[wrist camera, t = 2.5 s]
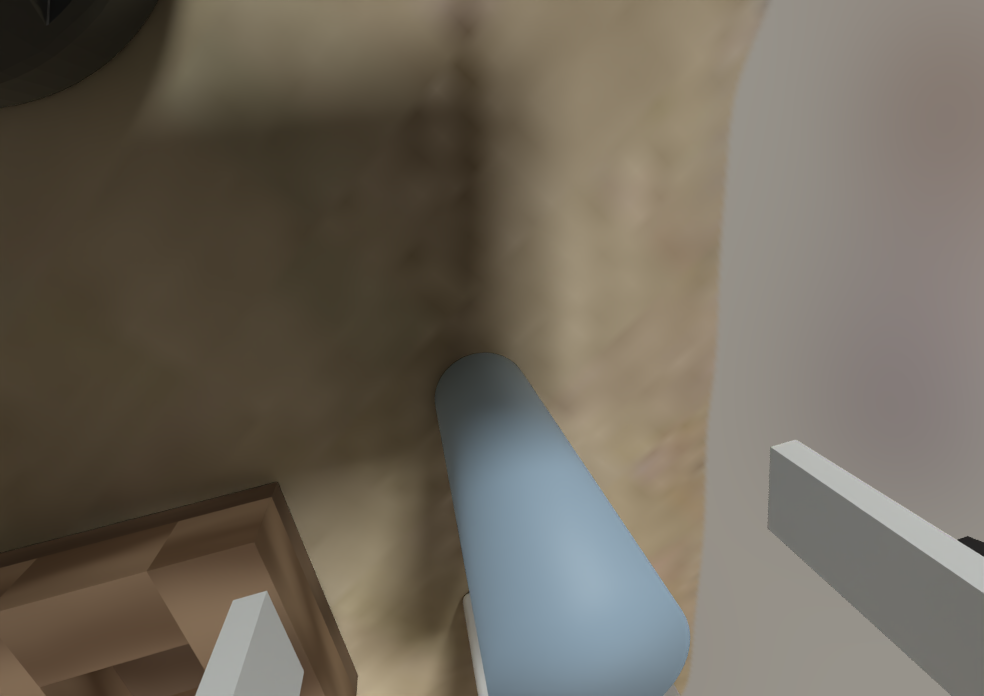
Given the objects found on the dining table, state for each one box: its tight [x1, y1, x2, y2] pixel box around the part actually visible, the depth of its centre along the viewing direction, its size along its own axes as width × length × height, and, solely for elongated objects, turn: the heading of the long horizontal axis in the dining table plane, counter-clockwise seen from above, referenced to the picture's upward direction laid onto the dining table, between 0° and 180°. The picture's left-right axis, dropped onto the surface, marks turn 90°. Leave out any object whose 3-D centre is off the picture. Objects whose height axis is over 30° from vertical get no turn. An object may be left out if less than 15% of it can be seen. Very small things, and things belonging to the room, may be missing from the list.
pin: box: [435, 353, 690, 696], centre depth 14 cm, size 4×4×12 cm
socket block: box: [0, 482, 358, 696], centre depth 19 cm, size 12×12×4 cm
